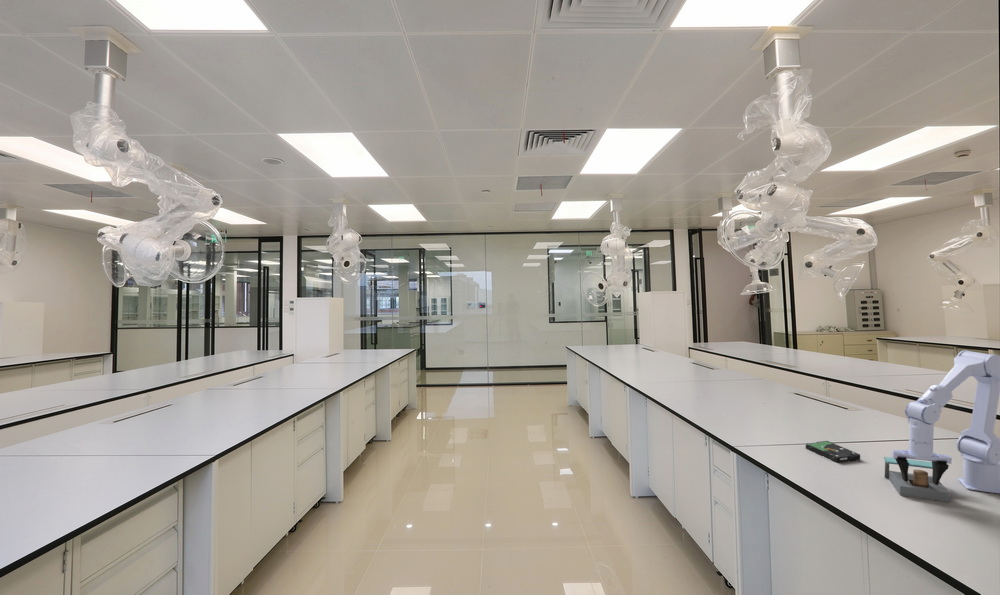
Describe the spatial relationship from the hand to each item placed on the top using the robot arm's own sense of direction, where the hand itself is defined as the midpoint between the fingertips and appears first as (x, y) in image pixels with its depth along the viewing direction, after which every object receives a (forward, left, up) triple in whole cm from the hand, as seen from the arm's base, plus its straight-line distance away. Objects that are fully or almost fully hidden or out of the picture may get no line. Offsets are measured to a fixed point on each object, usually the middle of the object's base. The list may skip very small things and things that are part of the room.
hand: (920, 481), depth 152 cm
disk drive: (+19, -26, -4) cm, 33 cm away
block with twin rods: (0, -8, -4) cm, 9 cm away
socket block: (0, -2, -4) cm, 4 cm away
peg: (0, 0, -4) cm, 4 cm away
